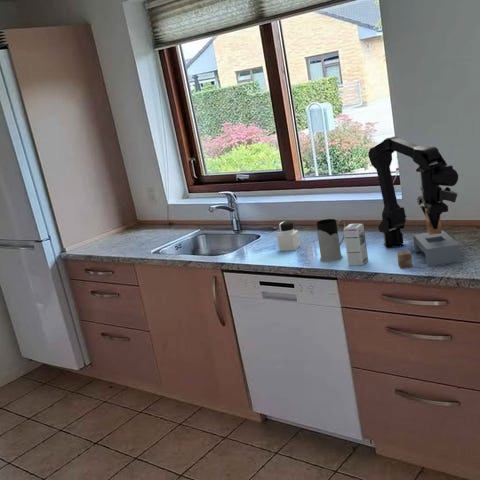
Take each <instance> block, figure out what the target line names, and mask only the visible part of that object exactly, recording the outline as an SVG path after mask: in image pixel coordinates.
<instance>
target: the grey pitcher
mask: <svg viewBox="0 0 480 480" xmlns="http://www.w3.org/2000/svg"><path fill="white" fill-rule="evenodd" d="M341 221H342V222H343V229H344V228H345V227H346V226H347V224H346V221H345V220H344V219H339V220H336V219H335V218H326V219H321V220H319V221H317V222H316V228H317V230H316V231H317V239H318V245H319V247H318V248H319V252H320V253H319V254H320V257H319V258H320V259H319V261H320V262H321V263H322V262H323V263H333V262H338V261H339V260H342V259H343V257H344V256H343V255H342V252H341V245H342V244H343V241H344V240H345V237H344V234H343V235H342V238H341V240H340V237H339V230H340V229H339V224H340V222H341Z"/></svg>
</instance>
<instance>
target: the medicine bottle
mask: <svg viewBox="0 0 480 480" xmlns="http://www.w3.org/2000/svg"><path fill="white" fill-rule="evenodd" d="M278 226H279V233H278V234H277V236H276V237H277V244H278V250H279V251H280V252H294V251H296V250H297V249H298V248H299V247H301V244H300V243H301V242H300V237H299V231H298V230H297V229H295V227H294V222H293V221H292V220H285V221H281V222H280V223H279V224H278Z"/></svg>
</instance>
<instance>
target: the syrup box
mask: <svg viewBox="0 0 480 480" xmlns="http://www.w3.org/2000/svg"><path fill="white" fill-rule="evenodd" d="M343 235H344V243H345V249H346V255H347V263H348V265H349V266H364V265H365V264H366V263H367V262H368V261H369V257H368V256H369V255H368V251H367V250H368V249H367V242H366V236H365V235H366V233H365V227H364V223H356V222H355V223H348V225H346V227H345V228H344V227H343Z"/></svg>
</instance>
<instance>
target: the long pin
mask: <svg viewBox="0 0 480 480" xmlns="http://www.w3.org/2000/svg"><path fill="white" fill-rule="evenodd" d="M426 211H427V208H425V214H426ZM441 223H442V222H441V217H440V218H439V222H438V227H437V229H434V228H433V226H432V224H431V222H430V220H429V218H428V216H427V214H426V216H425V225H426V233H428V234H429V235H434V234H441V231H442V224H441Z"/></svg>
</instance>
